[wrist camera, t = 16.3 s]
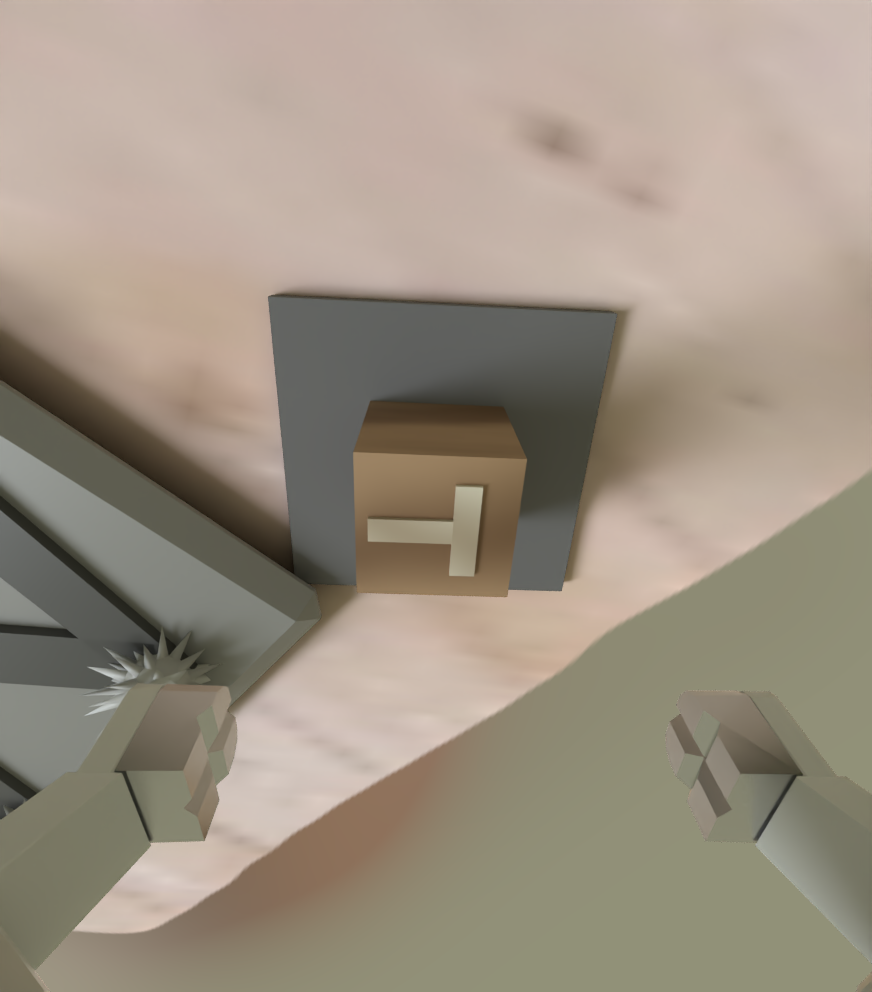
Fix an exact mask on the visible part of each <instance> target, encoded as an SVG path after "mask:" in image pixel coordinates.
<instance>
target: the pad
mask: <svg viewBox="0 0 872 992" xmlns="http://www.w3.org/2000/svg"><path fill="white" fill-rule="evenodd" d="M268 302H269V312H270V322H271V333H272V343H273V354H274V364H275V375H276V385H277V395H278V406H279V416H280V427H281V437H282V448H283V458H284V469H285V479H286V489H287V500H288V510H289V521H290V531H291V542H292V552H293V562H294V573H295V576H297V577H298V578H300V579H301V580H303V581H304V582H306V583H307V584H327V585H356V545H355V505H354V465H353V451H354V448H355V445H356V442H357V439H358V436H359V433H360V430H361V427H362V424H363V421H364V418H365V415H366V412H367V409H368V406H369V403H370V401H386V402H409V403H431V404H454V405H476V406H499V407H504V409H505V411H506V413H507V415H508V418H509V420H510V422H511V424H512V427H513V429H514V431H515V433H516V436H517V438H518V440H519V442H520V445H521V447H522V449H523V451H524V454H525V456H526V458H527V463H526V470H525V477H524V484H523V491H522V498H521V505H520V512H519V519H518V525H517V532H516V539H515V546H514V553H513V560H512V567H511V574H510V581H509V588H508V590H539V591H562V587H563V582H564V577H565V572H566V567H567V562H568V557H569V552H570V547H571V542H572V537H573V532H574V527H575V522H576V517H577V512H578V507H579V502H580V497H581V492H582V487H583V482H584V477H585V472H586V467H587V462H588V457H589V452H590V447H591V443H592V438H593V433H594V428H595V423H596V418H597V413H598V408H599V403H600V398H601V393H602V388H603V383H604V378H605V373H606V368H607V363H608V358H609V353H610V348H611V343H612V338H613V333H614V328H615V323H616V318H617V314H616V313H614V312H611V311H591V310H571V309H550V308H530V307H510V306H490V305H469V304H449V303H429V302H408V301H388V300H368V299H348V298H327V297H307V296H287V295H271V296H269V297H268Z"/></svg>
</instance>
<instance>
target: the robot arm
mask: <svg viewBox="0 0 872 992" xmlns="http://www.w3.org/2000/svg"><path fill="white" fill-rule="evenodd" d="M230 703H231V696H230V692H229V689H228V687H226V686H208V685H182V684H144V683H137V684H136V685H135V686H133V687H132V688H131V689H130V690H129V691H128V692H127V693H126V695H125V696H124V698H123V700H122V701H121V703H120V704H119V706H118V707H117V709H116V711H115V712H114V714H113V715H112V717H111V718H110V720H109V722H108V723H107V725H106V726H105V728H104V729H103V731H102V733H101V734H100V736H99V737H98V739H97V740H96V742H95V744H94V745H93V747H92V748H91V750H90V751H89V753H88V755H87V756H86V758H85V759H84V761H83V763H82V764H81V766H80V767H79V769H78V770H77V772H66V773H65V774H64V775H62V776H61V777H60V778H58V779H57V780H55V781H54V782H53V783H51V784H50V785H48V786H47V787H46V788H44V789H43V790H42V791H40V792H39V793H37V794H36V795H35V796H33V797H32V798H30V799H29V800H28V801H26V802H25V803H23V804H22V805H21V806H19V807H18V808H17V809H15V810H14V811H12V812H11V813H10V814H8V815H7V816H5V817H4V818H3V819H1V820H0V992H51V991H50V990H49V989H48V987H47V986H46V985H45V983H44V982H43V981H42V979H41V978H40V977H39V975H38V974H37V973H36V971H35V970H36V969H37V968H38V967H39V966H40V965H41V964H42V963H43V962H44V960H45V959H46V958H47V957H48V956H49V955H50V954H51V953H52V952H53V951H54V950H55V949H56V948H57V947H58V945H59V944H60V943H61V942H62V941H63V940H64V939H65V938H66V937H67V936H68V935H69V934H70V933H71V931H72V930H73V929H74V928H75V927H76V926H77V925H78V924H79V923H80V922H81V921H82V920H83V919H84V918H85V916H86V915H87V914H88V913H89V912H90V911H91V910H92V909H93V908H94V907H95V906H96V905H97V904H98V902H99V901H100V900H101V899H102V898H103V897H104V896H105V895H106V894H107V893H108V892H109V891H110V890H111V888H112V887H113V886H114V885H115V884H116V883H117V882H118V881H119V880H120V879H121V878H122V877H123V876H124V874H125V873H126V872H127V871H128V870H129V869H130V868H131V867H132V866H133V865H134V864H135V863H136V862H137V860H138V859H139V858H140V857H141V856H142V855H143V854H144V853H145V852H146V851H147V850H148V849H149V848H150V846H151V844H150V843H155V842H189V841H205V838H206V836H207V833H208V830H209V827H210V825H211V822H212V819H213V816H214V813H215V811H216V808H217V805H218V802H219V796H218V792H217V788H216V785H217V784H218V783H219V782H220V781H221V780H222V779H224V778H225V777H226V776H227V775H228V774H229V771H230V768H231V765H232V762H233V759H234V755H235V749H236V743H237V724H236V719H235V717H234V716H233V715H232V714H231V713H229V712H228V711H227V710H228V708H229V705H230ZM676 705H677V707H678V709H679V711H680V713H681V714H679V715H678V716H677V717H675V718H674V719H673V720H671V721H670V722H669V725H668V729H667V732H666V750H667V754H668V758H669V762H670V764H671V767H672V769H673V771H674V773H675V776H676V777H677V778H678V779H680V780H681V781H682V782H683V783H684V784H685V785H686V786H687V787H689V788H690V791H689V796H688V800H687V802H688V804H689V806H690V808H691V811H692V813H693V815H694V817H695V819H696V822H697V824H698V826H699V828H700V830H701V832H702V835H703V837H704V839H705V841H714V842H715V841H716V842H747V843H748V842H749V843H756V845H755V846H756V847H757V848H758V849H759V850H760V851H761V852H762V853H763V854H764V855H765V856H766V857H767V858H768V859H769V860H770V861H771V862H772V863H773V864H774V865H775V866H776V867H777V868H778V869H779V870H780V871H781V872H782V873H783V874H784V875H785V876H786V877H787V878H788V879H789V880H790V881H791V882H792V883H793V885H794V886H796V887H797V888H798V890H799V891H800V892H801V893H802V894H803V895H804V896H805V897H806V898H807V899H808V900H809V901H810V902H811V903H812V904H813V905H814V906H815V907H816V908H817V909H818V910H819V911H820V912H821V913H822V914H823V915H824V916H825V917H826V918H827V919H828V920H829V921H830V922H831V923H832V924H833V925H834V926H835V927H836V928H837V929H838V930H839V931H840V932H841V933H842V934H843V935H844V936H845V937H846V938H847V939H848V940H849V941H850V942H851V943H852V944H853V945H854V946H855V947H856V948H857V949H858V950H859V951H860V952H861V953H862V954H863V955H864V956H865V957H866V959H867V960H868V961H869V962H870V963H872V794H871V793H869V792H868V791H866V790H865V789H863V788H862V787H860V786H859V785H858V784H856V783H854V782H853V781H852V780H850V779H849V778H847V777H843V776H836V774H835V773H834V772H833V770H832V769H831V768H830V766H829V765H828V764H827V762H826V761H825V760H824V758H823V757H822V756H821V754H820V753H819V752H818V750H817V749H816V748H815V746H814V745H813V744H812V742H811V741H810V740H809V738H808V737H807V736H806V734H805V733H804V732H803V730H802V729H801V728H800V726H799V725H798V724H797V722H796V721H795V720H794V718H793V717H792V716H791V714H790V713H789V712H788V710H787V709H786V708H785V707H784V705H783V704H782V702H781V701H780V700H779V699H778V697H777V696H775V695H774V694H772V693H771V692H769V691H685V692H683V693H682V694H681V695H680V697H679V699H678V702H677V704H676ZM856 992H872V972H871V973H870V974H869V975H868V976H867V977H866V978H865V979H864V980H863V981H862V982H861V983H860V984H859V985H858V987H857V990H856Z"/></svg>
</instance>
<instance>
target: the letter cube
mask: <svg viewBox="0 0 872 992" xmlns="http://www.w3.org/2000/svg"><path fill="white" fill-rule="evenodd" d="M526 463H527V458H526V456H525V454H524V451H523V449H522V447H521V445H520V442H519V440H518V438H517V436H516V433H515V431H514V429H513V427H512V424H511V422H510V420H509V418H508V415H507V413H506V411H505V409H504V407H499V406H476V405H454V404H431V403H409V402H386V401H370V403H369V406H368V409H367V412H366V415H365V418H364V421H363V424H362V427H361V430H360V433H359V436H358V439H357V442H356V445H355V448H354V451H353V465H354V505H355V545H356V585H357V593H385V594H419V595H452V596H486V597H507V595H508V588H509V581H510V574H511V567H512V560H513V553H514V546H515V539H516V532H517V525H518V519H519V512H520V505H521V498H522V491H523V484H524V477H525V470H526Z"/></svg>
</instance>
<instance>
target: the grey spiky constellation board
mask: <svg viewBox="0 0 872 992" xmlns="http://www.w3.org/2000/svg"><path fill="white" fill-rule="evenodd" d="M321 616H322V615H321V610H320V606H319V601H318V597H317V592H316V589H315V588H313V587H312V586H310V585H309V584H307V583H306V582H304V581H303V580H301V579H300V578H298V577H297V576H295V575H294V574H292V573H291V572H289V571H288V570H286V569H285V568H283V567H282V566H280V565H279V564H277V563H276V562H274V561H273V560H271V559H270V558H268V557H267V556H265V555H264V554H262V553H261V552H259V551H258V550H256V549H255V548H253V547H252V546H250V545H249V544H247V543H246V542H244V541H243V540H241V539H240V538H238V537H237V536H235V535H234V534H232V533H231V532H229V531H228V530H226V529H225V528H223V527H222V526H220V525H219V524H217V523H216V522H214V521H213V520H211V519H210V518H208V517H207V516H205V515H204V514H202V513H201V512H199V511H198V510H196V509H195V508H193V507H191V506H190V505H188V504H187V503H185V502H184V501H182V500H181V499H179V498H178V497H176V496H175V495H173V494H172V493H170V492H169V491H167V490H166V489H164V488H163V487H161V486H160V485H158V484H157V483H155V482H154V481H152V480H151V479H149V478H148V477H146V476H145V475H143V474H142V473H140V472H139V471H137V470H136V469H134V468H133V467H131V466H130V465H128V464H127V463H125V462H124V461H122V460H121V459H119V458H118V457H116V456H115V455H113V454H112V453H110V452H109V451H107V450H106V449H104V448H103V447H101V446H100V445H98V444H97V443H95V442H94V441H92V440H91V439H89V438H88V437H86V436H85V435H83V434H82V433H80V432H79V431H77V430H76V429H74V428H73V427H71V426H70V425H68V424H67V423H65V422H64V421H62V420H61V419H59V418H58V417H56V416H55V415H53V414H52V413H50V412H48V411H47V410H45V409H44V408H42V407H41V406H39V405H38V404H36V403H35V402H33V401H32V400H30V399H29V398H27V397H26V396H24V395H23V394H21V393H20V392H18V391H17V390H15V389H14V388H12V387H11V386H9V385H8V384H6V383H5V382H3V381H2V380H0V820H1V819H3V818H4V817H5V816H7V815H8V814H10V813H11V812H12V811H14V810H15V809H17V808H18V807H19V806H21V805H22V804H23V803H25V802H26V801H28V800H29V799H30V798H32V797H33V796H35V795H36V794H37V793H39V792H40V791H42V790H43V789H44V788H46V787H47V786H48V785H50V784H51V783H53V782H54V781H55V780H57V779H58V778H60V777H61V776H62V775H64V774H65V773H66V772H77V770H78V769H79V767H80V766H81V764H82V763H83V761H84V759H85V758H86V756H87V755H88V753H89V751H90V750H91V748H92V747H93V745H94V744H95V742H96V740H97V739H98V737H99V736H100V734H101V733H102V731H103V729H104V728H105V726H106V725H107V723H108V722H109V720H110V718H111V717H112V715H113V714H114V712H115V711H116V709H117V707H118V706H119V704H120V703H121V701H122V700H123V698H124V696H125V695H126V693H127V692H128V691H129V690H130V689H131V688H132V687H133V686H135V685H136V684H137V683H144V684H182V685H208V686H226V687H228V689H229V692H230V696H231V703H230V705H229V707H230V706H231V705H232V704H233V703H234V702H235V701H236V700H237V699H238V698H239V697H240V696H241V695H242V694H243V693H244V692H245V691H246V690H247V689H248V688H249V687H250V686H251V685H252V684H253V683H255V682H256V681H257V680H258V679H259V678H260V677H261V676H262V675H263V674H264V673H265V672H266V671H267V670H268V669H269V668H270V667H271V666H272V665H273V664H274V663H275V662H276V661H277V660H278V659H279V658H280V657H281V656H283V655H284V654H285V653H286V652H287V651H288V650H289V649H290V648H291V647H292V646H293V645H294V644H295V643H296V642H297V641H298V640H299V639H300V638H301V637H302V636H303V635H304V634H305V633H306V632H307V631H308V630H309V629H311V628H312V627H313V626H314V625H315V624H316V623H317V622H318V621H319V620H320V619H321Z"/></svg>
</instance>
